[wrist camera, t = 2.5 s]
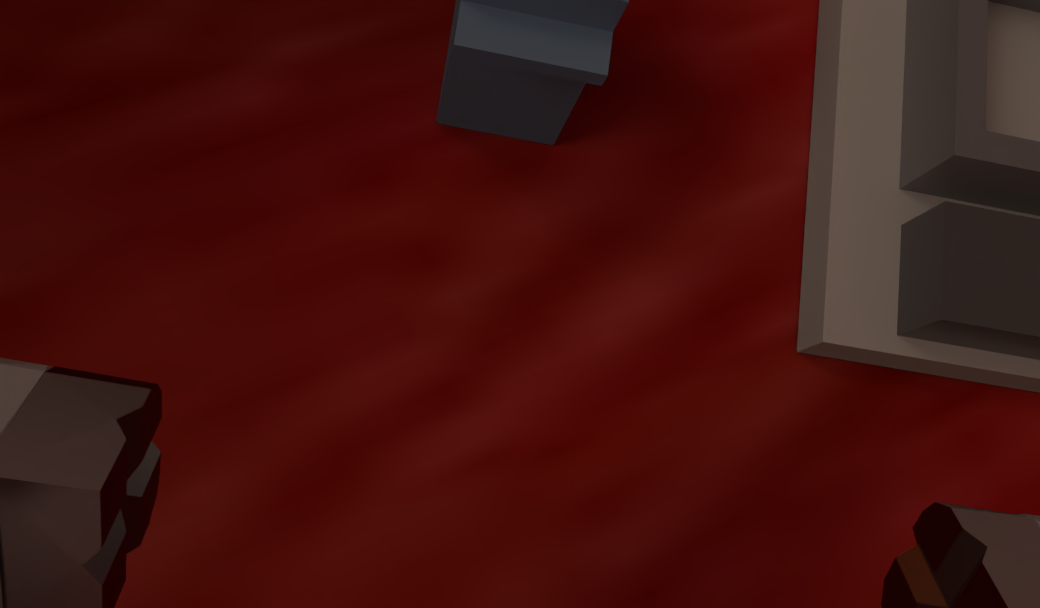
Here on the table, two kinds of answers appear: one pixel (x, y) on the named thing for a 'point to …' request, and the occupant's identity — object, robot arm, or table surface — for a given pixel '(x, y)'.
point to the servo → (524, 63)
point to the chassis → (925, 189)
